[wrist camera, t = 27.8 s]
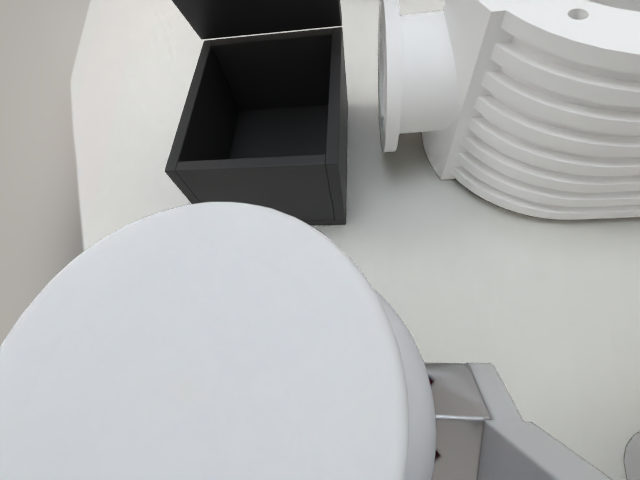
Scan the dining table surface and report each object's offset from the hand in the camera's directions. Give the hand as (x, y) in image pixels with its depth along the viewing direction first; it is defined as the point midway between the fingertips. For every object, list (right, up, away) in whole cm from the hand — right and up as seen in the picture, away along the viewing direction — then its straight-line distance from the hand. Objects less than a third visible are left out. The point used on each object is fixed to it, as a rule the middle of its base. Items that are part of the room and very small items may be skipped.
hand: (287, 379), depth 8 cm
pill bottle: (+1, -3, +5) cm, 6 cm away
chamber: (-3, +11, +24) cm, 26 cm away
